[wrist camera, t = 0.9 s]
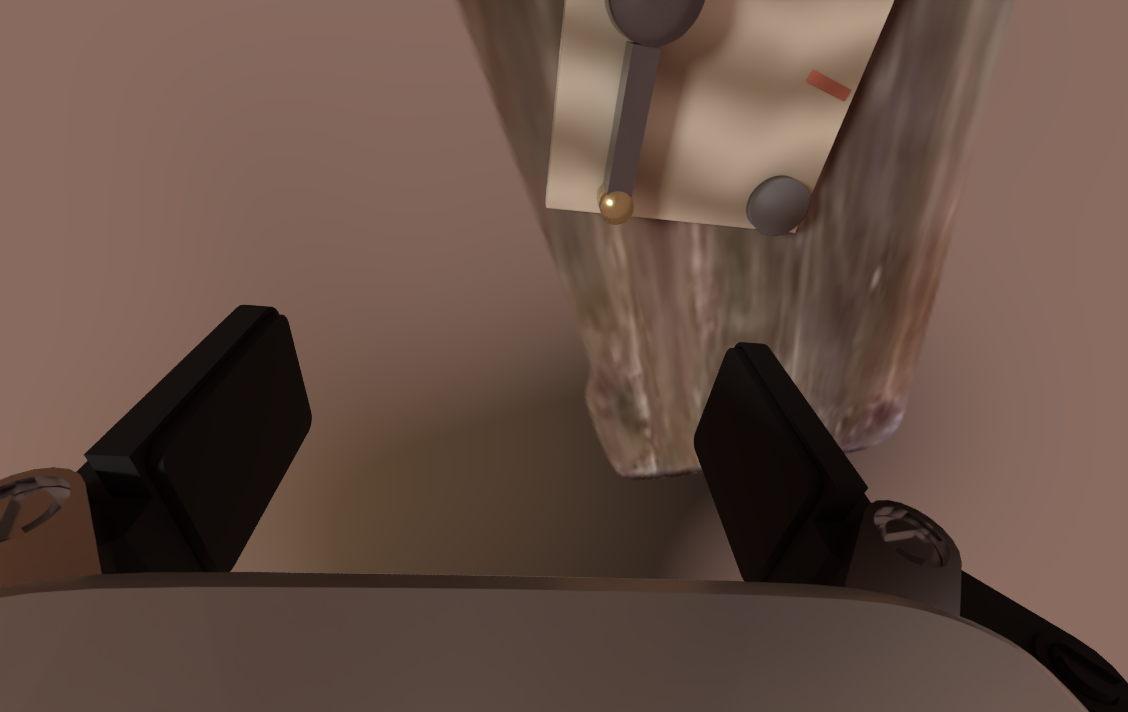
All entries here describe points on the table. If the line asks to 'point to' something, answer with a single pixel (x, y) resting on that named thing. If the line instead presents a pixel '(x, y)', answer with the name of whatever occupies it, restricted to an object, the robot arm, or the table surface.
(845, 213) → the table surface
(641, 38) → the grey lever handle
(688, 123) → the plate
